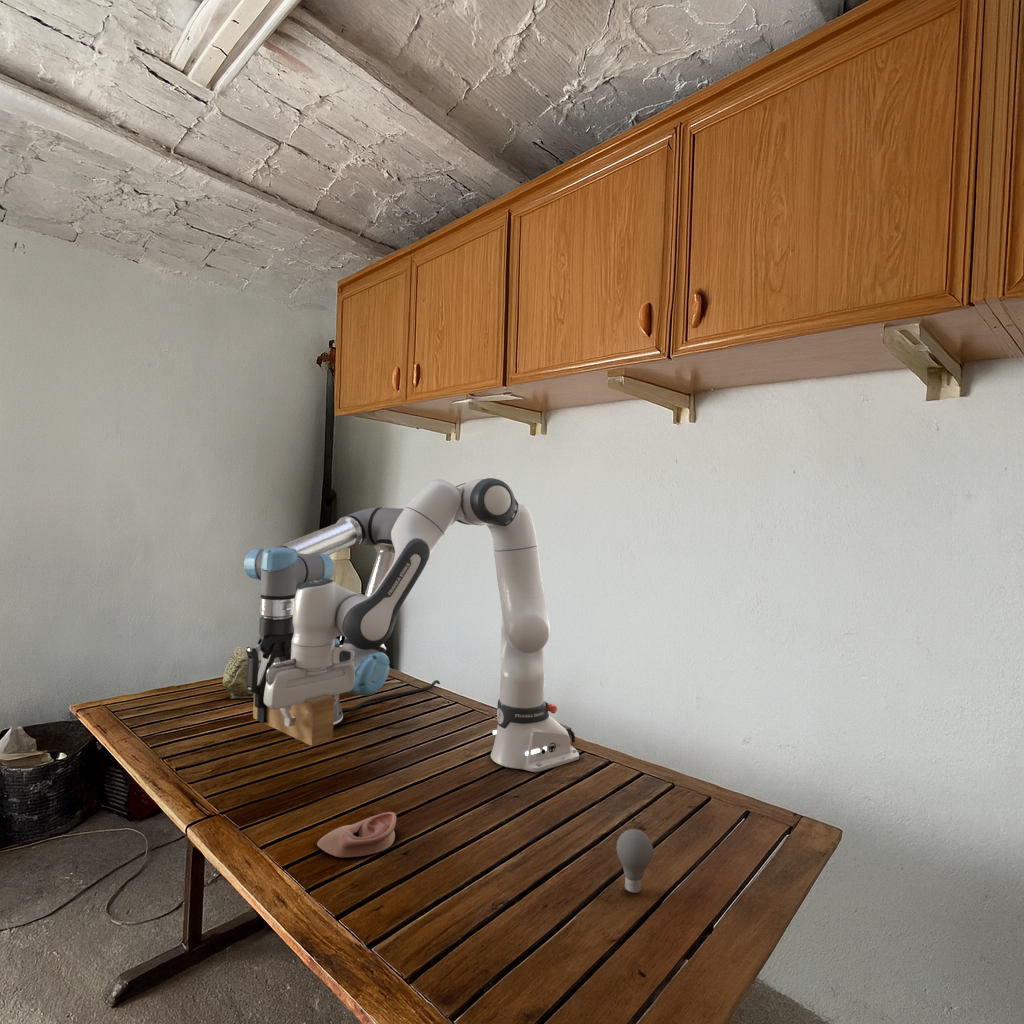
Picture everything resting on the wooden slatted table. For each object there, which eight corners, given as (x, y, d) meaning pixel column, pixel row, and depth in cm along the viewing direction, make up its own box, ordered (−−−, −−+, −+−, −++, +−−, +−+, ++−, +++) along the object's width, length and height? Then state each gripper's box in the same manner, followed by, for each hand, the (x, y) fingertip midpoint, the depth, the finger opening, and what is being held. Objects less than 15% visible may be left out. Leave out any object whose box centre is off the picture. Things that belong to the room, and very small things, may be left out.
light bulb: (610, 879, 108) (613, 822, 108) (644, 879, 109) (647, 822, 109) (619, 902, 102) (622, 840, 102) (655, 901, 103) (658, 840, 103)
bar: (252, 718, 145) (254, 679, 144) (273, 712, 149) (274, 674, 148) (311, 746, 130) (313, 703, 130) (332, 739, 134) (334, 697, 134)
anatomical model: (309, 830, 112) (339, 800, 124) (308, 852, 113) (338, 821, 124) (379, 841, 110) (403, 810, 121) (378, 864, 110) (402, 831, 121)
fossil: (218, 695, 195) (220, 647, 195) (278, 685, 208) (279, 640, 207) (228, 703, 189) (230, 653, 188) (289, 692, 201) (290, 645, 201)
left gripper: (248, 623, 134) (244, 732, 134) (321, 614, 148) (318, 712, 149) (230, 618, 139) (226, 723, 139) (303, 609, 153) (299, 705, 153)
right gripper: (276, 667, 125) (272, 736, 125) (360, 651, 141) (357, 713, 141) (259, 660, 129) (256, 728, 129) (343, 645, 144) (340, 706, 145)
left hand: (273, 717), depth 144 cm, fingers closed on bar, 5 cm apart
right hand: (309, 720), depth 135 cm, fingers open, 8 cm apart
